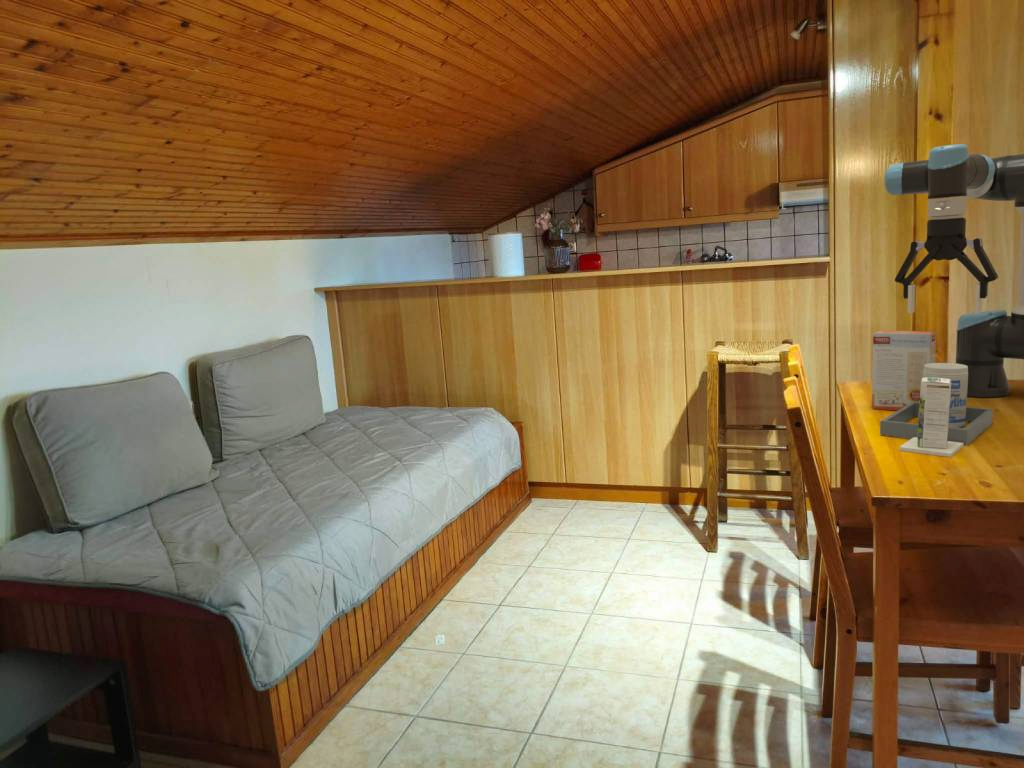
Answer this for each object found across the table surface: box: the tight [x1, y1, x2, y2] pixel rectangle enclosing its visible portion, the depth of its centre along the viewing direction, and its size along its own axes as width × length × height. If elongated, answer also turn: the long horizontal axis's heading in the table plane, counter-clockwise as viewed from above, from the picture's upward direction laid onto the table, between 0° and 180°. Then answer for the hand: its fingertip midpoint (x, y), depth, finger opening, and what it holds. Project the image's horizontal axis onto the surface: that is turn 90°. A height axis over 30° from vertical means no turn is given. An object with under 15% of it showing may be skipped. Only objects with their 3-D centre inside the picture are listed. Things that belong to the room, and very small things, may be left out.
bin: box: [879, 402, 994, 446], centre depth 182 cm, size 24×18×4 cm
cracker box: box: [871, 330, 937, 412], centre depth 202 cm, size 14×6×21 cm, turn 48°
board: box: [899, 437, 964, 458], centre depth 167 cm, size 10×10×1 cm
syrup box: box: [917, 377, 951, 448], centre depth 166 cm, size 6×6×14 cm
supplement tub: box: [923, 362, 968, 428], centre depth 185 cm, size 10×10×15 cm
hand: (943, 313), depth 174 cm, fingers open, 13 cm apart
